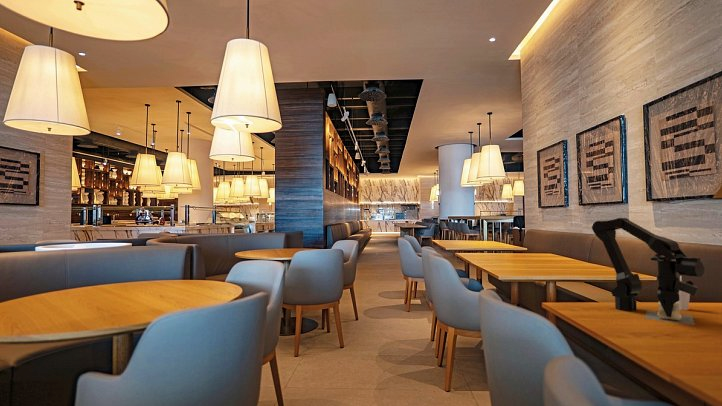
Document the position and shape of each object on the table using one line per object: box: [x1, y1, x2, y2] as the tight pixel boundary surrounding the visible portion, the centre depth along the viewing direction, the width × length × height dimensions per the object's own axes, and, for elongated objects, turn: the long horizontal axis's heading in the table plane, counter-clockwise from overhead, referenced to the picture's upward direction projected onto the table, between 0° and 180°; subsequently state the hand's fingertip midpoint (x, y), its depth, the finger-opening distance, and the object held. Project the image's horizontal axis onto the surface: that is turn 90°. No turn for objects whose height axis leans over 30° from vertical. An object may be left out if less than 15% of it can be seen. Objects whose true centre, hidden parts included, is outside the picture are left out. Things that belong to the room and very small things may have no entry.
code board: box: [644, 310, 695, 326], centre depth 141 cm, size 14×15×1 cm
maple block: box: [657, 301, 681, 320], centre depth 139 cm, size 6×6×5 cm
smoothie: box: [676, 275, 691, 311], centre depth 157 cm, size 6×6×14 cm
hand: (669, 314), depth 139 cm, fingers closed on maple block, 6 cm apart
